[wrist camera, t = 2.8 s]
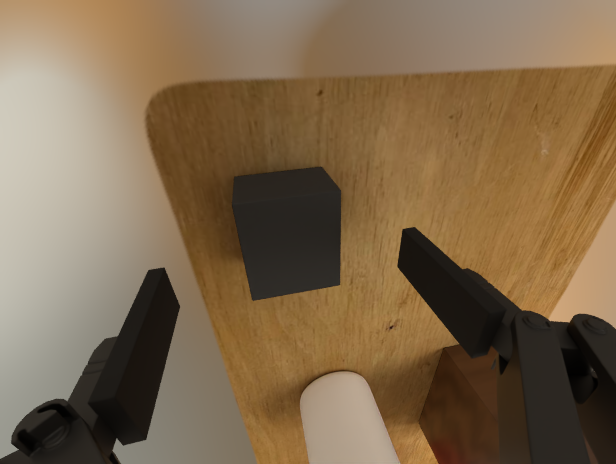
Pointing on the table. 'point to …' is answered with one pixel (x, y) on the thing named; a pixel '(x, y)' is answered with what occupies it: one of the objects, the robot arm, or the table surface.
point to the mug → (344, 422)
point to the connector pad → (288, 230)
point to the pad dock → (465, 410)
